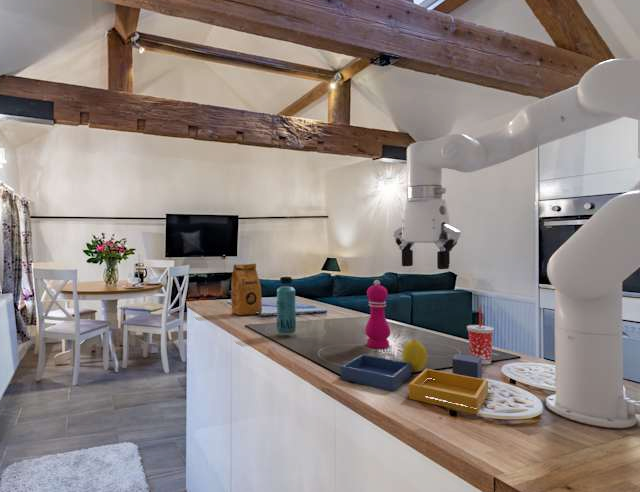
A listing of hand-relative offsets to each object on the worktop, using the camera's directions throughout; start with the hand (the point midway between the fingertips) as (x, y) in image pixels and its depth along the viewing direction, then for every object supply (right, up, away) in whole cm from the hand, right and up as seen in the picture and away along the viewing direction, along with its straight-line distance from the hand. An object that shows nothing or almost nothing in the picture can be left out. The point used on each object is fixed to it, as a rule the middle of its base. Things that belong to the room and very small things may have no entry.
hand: (424, 267), depth 95 cm
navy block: (+9, -26, -2) cm, 27 cm away
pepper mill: (-2, -26, +27) cm, 38 cm away
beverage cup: (+20, -26, +11) cm, 34 cm away
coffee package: (-41, -27, +80) cm, 94 cm away
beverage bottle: (-28, -27, +41) cm, 56 cm away
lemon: (-1, -26, +3) cm, 26 cm away
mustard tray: (0, -26, -12) cm, 28 cm away
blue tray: (-11, -26, 0) cm, 28 cm away
